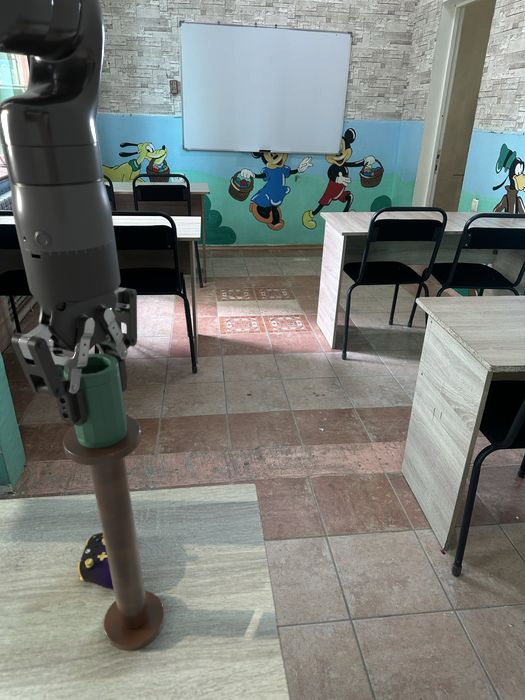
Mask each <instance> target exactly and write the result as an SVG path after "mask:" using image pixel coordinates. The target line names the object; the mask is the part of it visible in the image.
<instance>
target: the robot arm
mask: <svg viewBox="0 0 525 700" xmlns="http://www.w3.org/2000/svg"><path fill="white" fill-rule="evenodd" d="M104 51H105V18H104V12H103V8H102V2H101V0H0V53H1V54H2V53H3V54H11V55H18V56H27V57H29V71H28V72H29V73H28V74H29V75H28V81H27V88H26V90H25V91H24V92H23V93H20V94H16V95H12V96H10V97H8V98H5V99H4V100H2V101H1V102H0V143H1V148H2V153H3V157H4V162H5V166H6V171H7V176H8V180H9V185H10V193H11V207H12V215H13V220H14V225H15V229H16V234H17V239H18V242H19V247H20V252H21V255H22V257H21V258H22V261H23V265H24V271H25V275H26V279H27V284H28V289H29V292H30V293H31V295H32V296H33V298H34V299H35V300H36V302H37V303H38V305H39V316H38V325H37V326H36V327H34V328H33V329H31V330H29V332H27V333H20V332H17V333H15V334H13V336H12V338H11V345H12V348H13V350H14V352H15V354H16V357H17V359H18V361H19V363H20V366H21V368H22V370H23V372H24V376H25V377H26V380H27V381H28V384H29V386H30V389H31V390H32V392H33V393H36V394H42V395H46V396H50V397H52V398H55V400H56V403H57V404H56V405H57V408H58V413H59V414H58V415H59V418H60V419H61V420H62V421H63V422H65V423H67V424H70V425H72V426H74V425H77V426H82V425H83V424H84V423H86V422H87V415H86V410H85V404H84V399H83V394H82V390H81V389H79V387H80V380H81V372H82V369H83V368H84V367H86V366H87V362H88V355H89V353H90V351H91V350H92V349H93V348H94V347H95V346H96V347H97V349H98V351H99V352H100V354H107V355H110V356H113V357H115V358H116V359H117V361H118V364H119V371H120V378H121V385H122V392H123V393H124V392H125V391H127V390H128V373H127V366H126V358H127V357H128V353H129V351H128V349H129V348H130V347H135V346H136V345H137V343H138V293H137V290H136V289H133V288H127V287H120V285H121V273H120V267H119V259H118V251H117V243H116V235H115V227H114V221H113V213H112V206H111V203H110V202H111V201H110V198H109V195H108V191H107V188H106V181H105V179H104V178H105V176H104V168H103V161H102V153H101V146H100V139H99V134H98V128H97V118H98V112H99V111H98V110H99V104H100V97H101V89H102V88H101V87H102V76H103V64H104V54H105V53H104ZM122 324H125V330H126V331H125V332H123V331H122V329H123V327H122ZM63 350H64V351H67V352H72V353H74V355H73V356H70V355H66V354H64V351H63ZM65 366H67V367H68V375H67V378H65V376H64V367H65Z"/></svg>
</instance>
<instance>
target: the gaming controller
mask: <svg viewBox="0 0 525 700" xmlns="http://www.w3.org/2000/svg"><path fill="white" fill-rule="evenodd" d="M77 573H78V575H79V576H80V577H79V581H82V582H84V583H92V584H95V585H97V586H100V587H102V588H104V589H109V590H114V588H113V583H112V578H111V573H110V568H109V563H108V558H107V553H106V548H105V542H104V537H103V532H102V531H101V532H99V533H95V534H93V535H91V536H90V537H89V538H87V540H86V541H85V546H84V549H83V551H82V555H81V558H80V560H79V561H78V563H77Z"/></svg>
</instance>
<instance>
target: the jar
mask: <svg viewBox="0 0 525 700" xmlns="http://www.w3.org/2000/svg"><path fill="white" fill-rule="evenodd" d="M67 375H68V367H67V366H64V374H63V377H64V378H67ZM79 389H81V390H82V394H83V399H84V404H85V410H86V415H87V422H86V423H84V424H83V425H82V426H77V425H75V430H76V434H77V438H78V441H79V443H80V444H81V445H83V446H85V447H88V448H104V447H108V446H111V445H114V444H116V443H118V442H119V441H121V440H122V439H123V438H124V437H125V435H126V434H127V420H126V415H127V414H126V413H127V412H126V406H125V400H124V392H122V385H121V378H120V371H119V364H118V361H117V359H116V358H115V357H113V356H110V355H107V354H101V353H90V354H88V362H87V366H86V367H84V368H83V369H82V372H81V380H80V387H79Z"/></svg>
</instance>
